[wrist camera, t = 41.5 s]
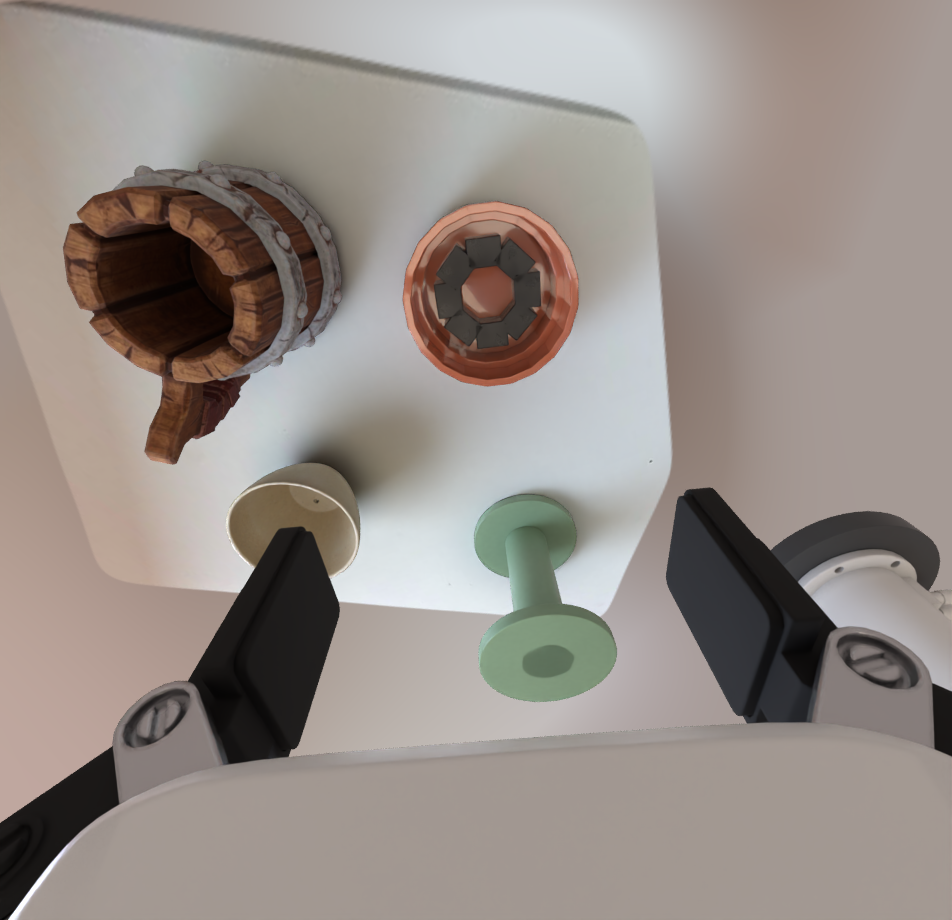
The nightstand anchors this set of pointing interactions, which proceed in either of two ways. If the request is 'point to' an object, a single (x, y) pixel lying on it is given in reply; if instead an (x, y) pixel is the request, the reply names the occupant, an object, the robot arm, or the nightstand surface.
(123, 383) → the nightstand surface
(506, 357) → the bowl
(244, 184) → the mug
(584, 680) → the stand
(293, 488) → the flower pot
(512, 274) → the ring
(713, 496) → the robot arm
